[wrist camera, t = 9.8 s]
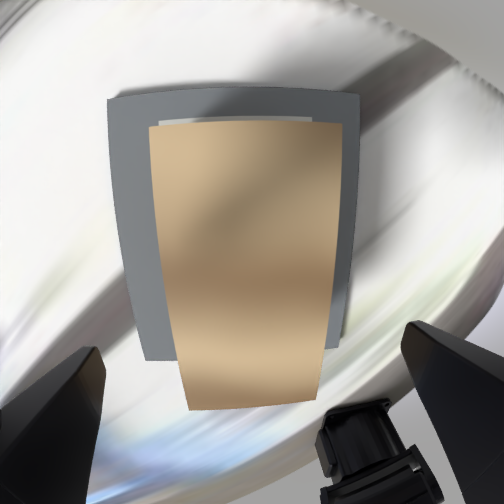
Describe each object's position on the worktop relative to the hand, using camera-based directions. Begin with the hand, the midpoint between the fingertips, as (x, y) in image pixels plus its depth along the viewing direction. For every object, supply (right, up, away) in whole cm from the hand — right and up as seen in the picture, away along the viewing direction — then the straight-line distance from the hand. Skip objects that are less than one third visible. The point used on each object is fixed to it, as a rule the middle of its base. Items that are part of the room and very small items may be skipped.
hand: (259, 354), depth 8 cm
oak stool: (-1, +3, +8) cm, 9 cm away
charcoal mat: (-1, +4, +9) cm, 10 cm away
